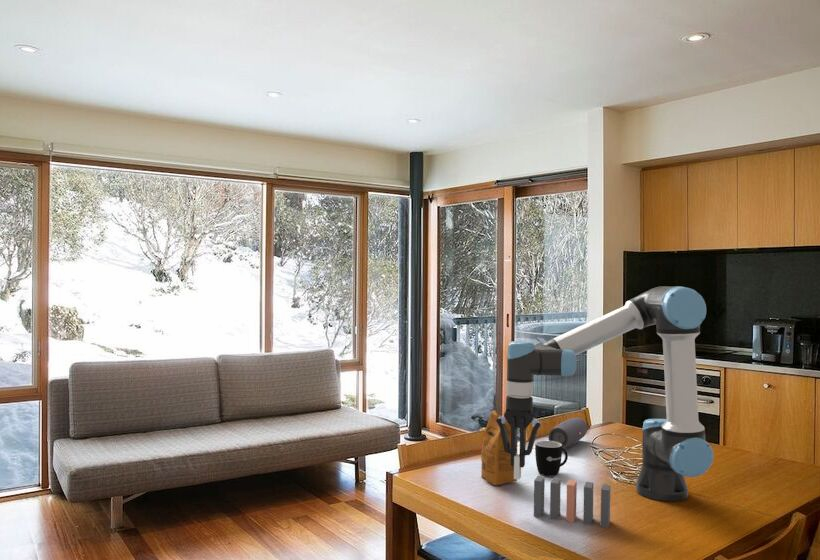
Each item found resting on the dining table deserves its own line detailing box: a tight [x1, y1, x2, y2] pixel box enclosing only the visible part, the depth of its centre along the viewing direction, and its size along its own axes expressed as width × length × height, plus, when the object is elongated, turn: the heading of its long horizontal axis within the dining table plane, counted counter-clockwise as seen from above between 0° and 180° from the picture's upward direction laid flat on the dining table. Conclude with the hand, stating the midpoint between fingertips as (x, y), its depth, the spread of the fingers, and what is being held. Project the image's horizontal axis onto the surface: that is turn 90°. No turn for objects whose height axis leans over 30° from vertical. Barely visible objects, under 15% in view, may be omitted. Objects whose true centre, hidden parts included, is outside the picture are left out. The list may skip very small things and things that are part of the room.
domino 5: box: [600, 483, 611, 528], centre depth 175 cm, size 2×5×10 cm, turn 158°
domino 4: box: [582, 481, 594, 526], centre depth 177 cm, size 2×5×10 cm, turn 158°
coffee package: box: [480, 410, 518, 486], centre depth 212 cm, size 10×12×22 cm
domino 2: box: [549, 477, 562, 521], centre depth 180 cm, size 2×5×10 cm, turn 158°
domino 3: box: [565, 479, 578, 523], centre depth 179 cm, size 2×5×10 cm, turn 158°
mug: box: [534, 440, 569, 477], centre depth 220 cm, size 12×9×10 cm
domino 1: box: [533, 475, 546, 518], centre depth 182 cm, size 2×5×10 cm, turn 158°
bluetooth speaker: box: [548, 416, 589, 450], centre depth 256 cm, size 23×9×10 cm, turn 147°
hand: (517, 477), depth 184 cm, fingers closed
